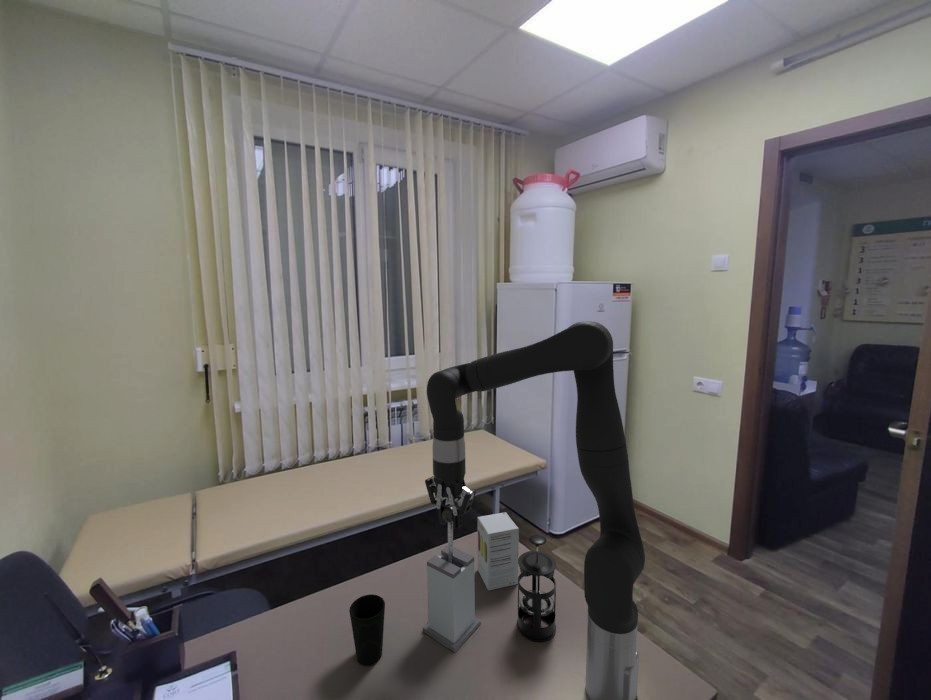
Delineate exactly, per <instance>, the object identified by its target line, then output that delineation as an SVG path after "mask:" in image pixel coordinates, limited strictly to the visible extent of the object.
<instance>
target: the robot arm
mask: <svg viewBox="0 0 931 700" xmlns="http://www.w3.org/2000/svg"><path fill="white" fill-rule="evenodd" d="M570 371H573V374H574V379H575V385H576V393H577V394H576V396H577V402H576V404H577V405H576V413H575V415H576V416H575V444H576V450H577V451H576V452H577V459H578V464H579V465H578V466H579V469H580V472H581V473H580V474H581V475H582V478H583V480H584V482H585V483H586V485H587V487H588V489H589V491H590V492H591V494H592V495H593V497H594V498H595V501H596V505H597V509H598V515H599V526H600V527H599V529H600V530H599V531H600V532H599V533H600V534H599V537H598V538H597V539H596V541H595V542H594V543H593V544H591V546H590V547H589V548H588V549H587V551H586V553H585V557H584V564H583V581H584V582H583V583H584V584H583V586H584V587H583V588H584V589H583V590H584V591H583V592H584V600H585V602H586V605H587V625H586V626H587V627H586V657H585V658H586V662H585V663H586V664H585V692H586V694H587V698H588V699H589V700H636V699H637V697H636V696H638V686H639V685H638V683H639V680H638V679H639V665H640V664H639V663H640V660H639V659H640V653H639V651H637V641H638V640H637V637H638V623H639V622H638V621H639V609H638V606H637V604H636V602H635V600H634V597H633V592H634V585H635V583H636V581H637V580H638V579H639V577H640V575H641V574H642V573H643V570H644V567H645V564H646V563H645V562H646V555H645V548H644V544H643V541H642V537H641V536H642V535H641V532H640V528H639V524H638V520H637V516H636V515H637V514H636V511H635V506H634V497H633V489H632V482H631V481H632V480H631V473H630V464H629V455H628V447H627V441H626V436H625V430H624V425H623V420H622V419H623V418H622V416H621V415H622V414H621V411H620V406H619V402H618V398H617V394H616V393H617V392H616V387H615V386H616V385H615V375H614V374H615V373H614V340H613V336H612V334H611V333H610V331H609V329H608V328H607V327H605V325H603V324H601V323H600V322H597V321H592V320H585V321H584V320H581V321H578V322H575V323H572V324H571V325H570V326H568V327H567V328H565V329H563V330H561V331H560V332H557V333H556V334H553V335H551V336H549V337H547V338H545V339H541V341H538V342H535V343H532V344H529V345H527V346H526V345H525V346H522V347H518V348H513V349H510V350H505V351H501V352H497V353H493V354H491V355H488V356H484V357H481V358H477V359H475V360H473V361H471V362H468V363H463V364H462V363H461V364H458V365H455V366H451V367H448V368H444V369H442V370H439V371H436V372H434V373H433V374H432V375H430V377H429V379H428V381H427V385H426V397H427V402H428V405H429V410H430V413H431V416H432V419H433V421H432V427H433V428H432V430H433V431H432V432H433V433H432V434H433V435H432V436H433V439H432V476H430V477H427V479H425V480H424V484H425V486H426V490H427V495H428V498H429V501H430V503H431V505H435V506H436V507H435V508H436V509H437V518H438V523H439V524H441V525H444V524H445V523H448V522H447V521H445V520H444V518H443V516H442V512H443V510H444V508H445V507H447V506H448V505H447V504H448V502H449V506H452V509H453V531H457V530H459V529H460V528H461V527H462V526H463V523H464V522H463V516H464V515H465V514H467V513H469V512H470V510H471V508H472V505H473V502H474V499H475V497H476V493H477V492H476V490H475V489H471V490H470V489H469V488H468V487H467V484H466V482H465V475H466V474H467V473H466V472H467V471H466V468H467V467H466V441H465V419H464V418H465V417H464V414H463V412H462V411H461V410H459V409H458V408H457V402H456V399H458V398H459V397H462V396H464V395H467V394H468V395H469V394H471V393H474V392H477V393H478V392H480V393H481V392H486V391H490V390H493V389H497V388H503V387H505V386H509V385H512V384H516V383H518V382H520V381H521V382H522V381H524V380H526V379H530V378H535V377H538V376H543V375H547V374H553V373H562V372H570ZM448 500H449V501H448ZM635 698H636V699H635Z"/></svg>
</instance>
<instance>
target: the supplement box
mask: <svg viewBox="0 0 931 700" xmlns="http://www.w3.org/2000/svg"><path fill="white" fill-rule="evenodd" d="M519 529H520V528H519V527H518V526H517V525H516V523H515V522H514V521H513V520H512V518H511V517H510V516H509V514H508V512H506V511H504V512H500V513H492V514H488V515H481V516H477V571H478V573H479V575H480V577H481V579H482V581H483V584H484V586H485V587H486V590H487V591H493V590H498V589H502V588H506V587H511V586H515V585H518V577H519V564H518V559H519V549H520V547H519V543H520V537H519V536H520V530H519Z"/></svg>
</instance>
